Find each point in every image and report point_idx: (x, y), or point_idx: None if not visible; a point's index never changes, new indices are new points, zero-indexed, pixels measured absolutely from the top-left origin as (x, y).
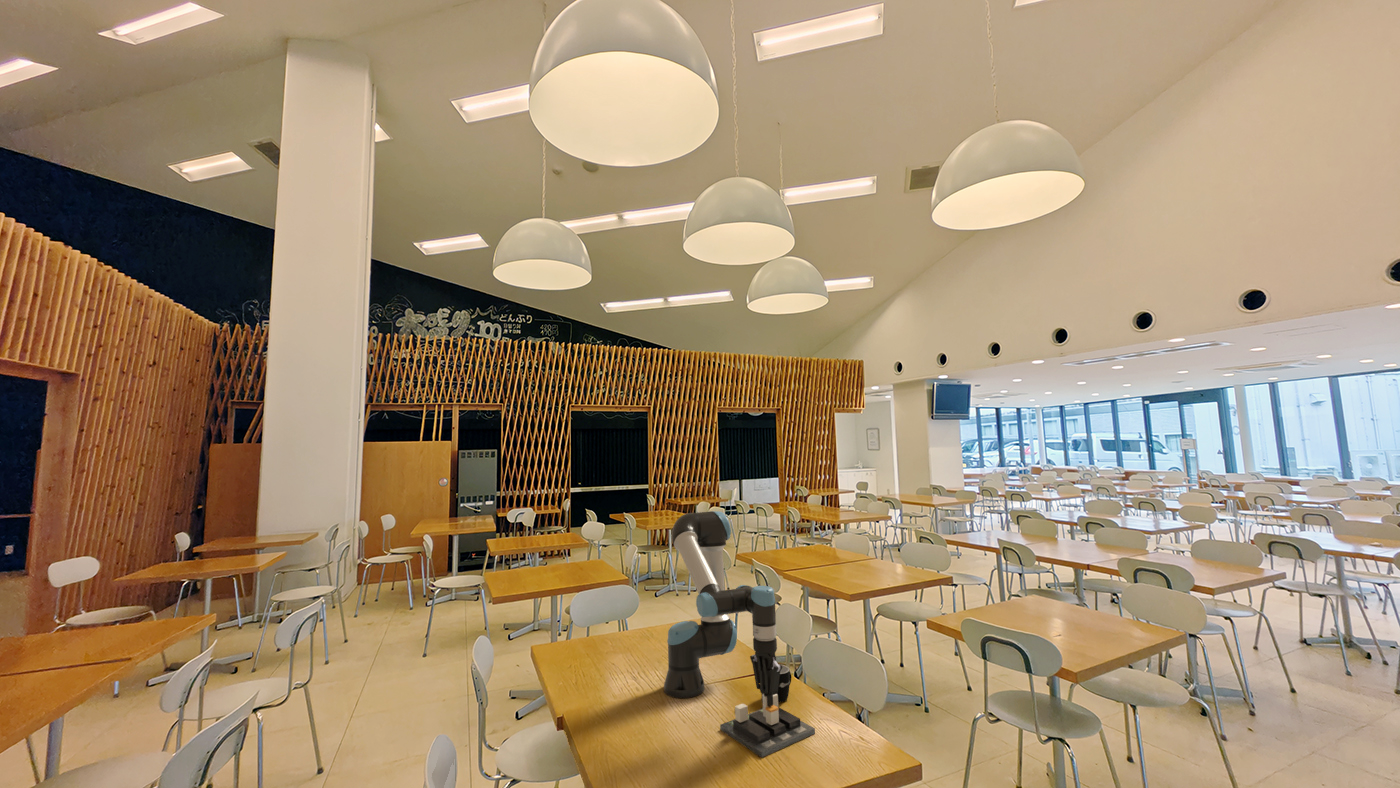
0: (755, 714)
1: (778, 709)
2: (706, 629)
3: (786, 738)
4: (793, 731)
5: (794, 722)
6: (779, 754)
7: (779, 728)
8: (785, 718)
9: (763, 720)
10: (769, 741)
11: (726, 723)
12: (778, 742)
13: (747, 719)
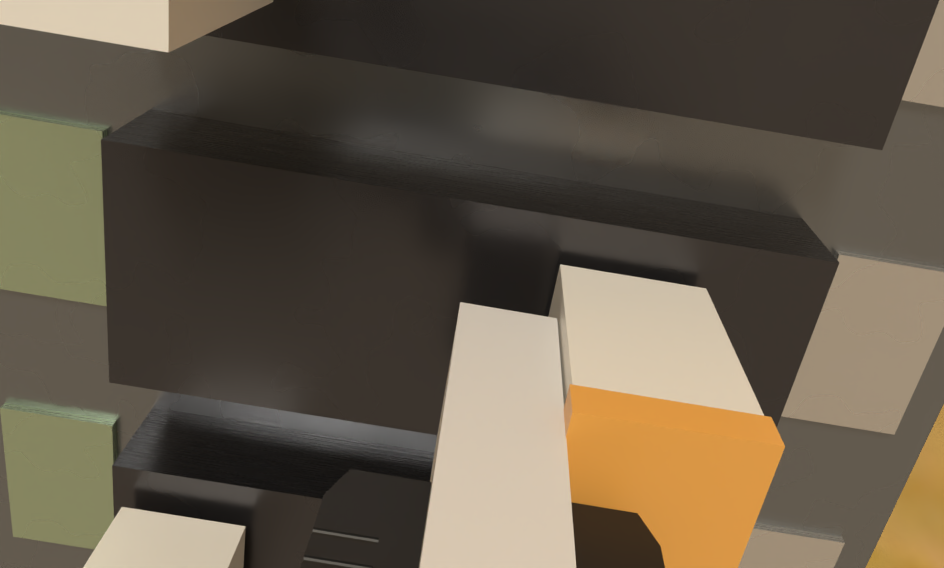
0: (170, 304)
1: (771, 425)
2: None
3: (920, 372)
4: (917, 118)
5: (923, 8)
6: (909, 541)
7: (787, 380)
8: (710, 47)
9: (427, 378)
10: (751, 560)
11: (9, 548)
12: (856, 495)
13: (244, 538)
